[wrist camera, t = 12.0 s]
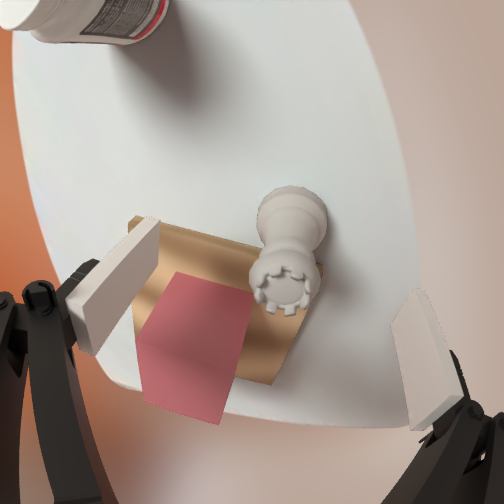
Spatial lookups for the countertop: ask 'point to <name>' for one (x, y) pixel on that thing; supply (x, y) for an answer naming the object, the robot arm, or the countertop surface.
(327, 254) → the countertop surface
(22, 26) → the pill bottle
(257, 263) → the rook chess piece
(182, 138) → the countertop surface
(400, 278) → the countertop surface
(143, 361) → the brick
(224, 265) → the base plate
